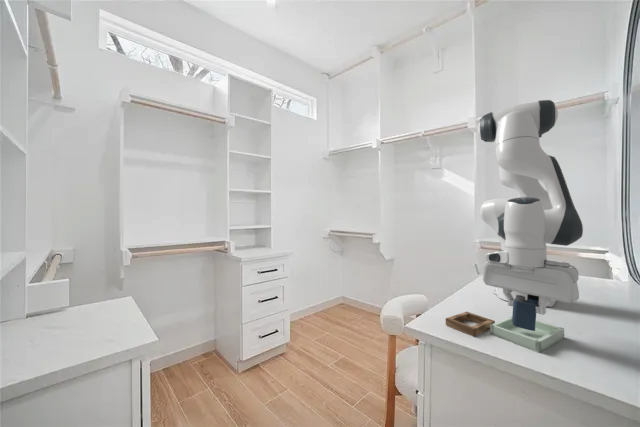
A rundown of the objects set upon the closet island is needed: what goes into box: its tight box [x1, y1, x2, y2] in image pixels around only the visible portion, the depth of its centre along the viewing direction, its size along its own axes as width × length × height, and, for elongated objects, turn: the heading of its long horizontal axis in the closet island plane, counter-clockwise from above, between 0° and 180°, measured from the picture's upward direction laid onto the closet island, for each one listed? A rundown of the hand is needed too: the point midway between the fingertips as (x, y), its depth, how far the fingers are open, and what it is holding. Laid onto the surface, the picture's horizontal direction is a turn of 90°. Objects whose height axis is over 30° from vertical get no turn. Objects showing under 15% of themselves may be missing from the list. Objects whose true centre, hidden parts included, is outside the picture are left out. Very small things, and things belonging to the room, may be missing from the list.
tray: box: [489, 316, 565, 354], centre depth 68 cm, size 14×11×2 cm
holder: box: [445, 311, 496, 337], centre depth 74 cm, size 10×8×2 cm
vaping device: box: [511, 294, 539, 331], centre depth 68 cm, size 3×5×12 cm, turn 54°
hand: (526, 309), depth 68 cm, fingers closed on vaping device, 5 cm apart
